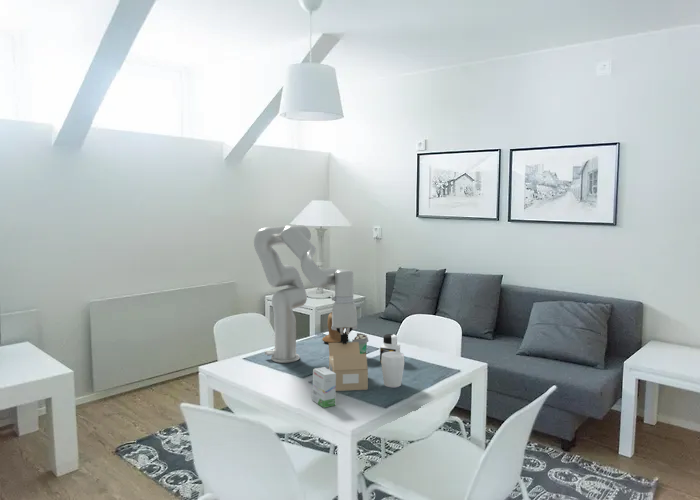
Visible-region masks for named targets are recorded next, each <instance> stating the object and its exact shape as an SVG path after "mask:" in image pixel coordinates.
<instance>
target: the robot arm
mask: <svg viewBox="0 0 700 500" xmlns="http://www.w3.org/2000/svg"><path fill="white" fill-rule="evenodd" d="M311 238H312V233H311V231H310V229H309V228H308V226H305V225H304V224H303V225H302V224H301V225H299V224H298V225H278V226H266V227H263V228H260V229H259V230H257V232H256V233H255V235H254V238H253V247H254V250H255V252H256V255H257V256H258V259H259V260H260V263H261V265H262V266H261V267H262V269H263V272H264V274H265V277H266V280H267V283H268V284H269V286H270V287H271V288H275V289H276V288H277V289H278V288H283V289H279V290H277V291H276V292H275V293H274V294H273V295H272V297H271V304H272V305H271V306H272V311H273V321H274V322H273V323H274V347H273V349H271V350H269V349H267V350H264V355H266V356H267V357H268V356H271V358H270V359H271V360H272V361H273V362H275V363H280V364H281V363H282V364H287V363H289V364H290V363H295V362H297V361H298V360H299V359H300V354H298V353H297V322H296V319H297V318H296V315H295V313H294V311H293V310H294V309H298V308H300V307H303V306H304V305H305V304H306V302H307V300H308V297H307V292H306V288H305V286H304V283H303V280H302V277H301V274H300V273H299V270H298V268H297V267H295V266H294V265H291V264H284V265H283V263H282V260H281V258H280V255H279V254H278V252H277V250H275V249H274V248H273V247H274V246H281V245H286V246H287V248H289V250H290V251H291V252H292V253H293V254H294V255H295V256H296V257H297V259H298V260H299V261H300V267H301V271H302V273H303V275H304V277H306V279H308V281H309V282H310V283H311V284H312V285H313V286H314V287H316V288H319V289H323V288H327V287H333V286H335V287H334V296H332V297H331V301H332V302H333V304H332V309H331V310H332V311H331V312H332V327H331V328H332V330H336V331H338V332H339V333H340V334H341V342H340V343H343V344H347V342H349V335H350V334H351V332H352V331H354V330H358V319H357V318H358V314H357V306H356V302H354V272H353V270H351V269H347V268H346V269H341V268H337V267H326V268H320V267H319V266H318V265H317V264H316V263H315V262H314V261H315V260H314V259H313V257H314V255H315V254H316V251H317V250H316V246H315V245H314V244H313V243H312V242H311ZM284 287H285V288H284ZM343 328H344V329H345V330H344V332H343Z"/></svg>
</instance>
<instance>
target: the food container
mask: <svg viewBox="0 0 700 500" xmlns="http://www.w3.org/2000/svg"><path fill="white" fill-rule="evenodd" d="M351 342H359V350H360V354H366V355H367V346H368V345H367V344H368V342H369V337H368V336H367V334H364V333H358V332H356V336H355V337H354V339H352V340H351Z"/></svg>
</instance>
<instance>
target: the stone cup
mask: <svg viewBox="0 0 700 500" xmlns="http://www.w3.org/2000/svg"><path fill="white" fill-rule="evenodd" d="M331 327H332V311H331V312H330V313H329V314H328V316H327V329H328V334H327V335H325V336H323V337H322V339H321V340H322V342H324V343H327V344H329V343H342V342H341V334H340V333H339V332H338V331H336V330H332V328H331ZM343 332H344V333H345V328H343Z"/></svg>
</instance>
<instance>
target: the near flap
mask: <svg viewBox="0 0 700 500" xmlns="http://www.w3.org/2000/svg"><path fill="white" fill-rule="evenodd" d="M333 359H334V371H337V370H362V369H368V359H367V353H366V354H341V355H333Z"/></svg>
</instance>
